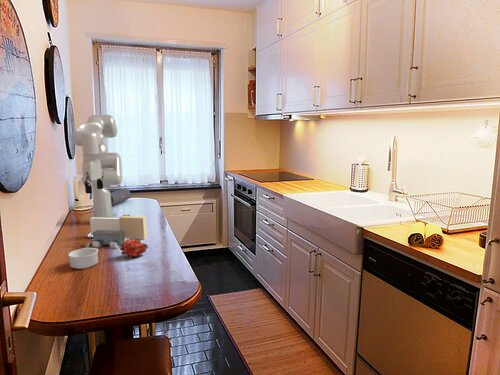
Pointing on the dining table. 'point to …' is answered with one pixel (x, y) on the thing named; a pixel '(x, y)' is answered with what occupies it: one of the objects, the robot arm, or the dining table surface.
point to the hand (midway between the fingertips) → (94, 191)
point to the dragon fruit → (133, 248)
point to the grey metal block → (108, 237)
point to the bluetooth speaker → (119, 196)
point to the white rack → (120, 227)
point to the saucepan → (83, 257)
